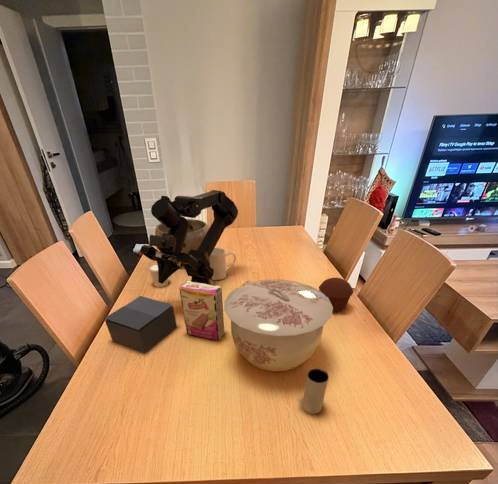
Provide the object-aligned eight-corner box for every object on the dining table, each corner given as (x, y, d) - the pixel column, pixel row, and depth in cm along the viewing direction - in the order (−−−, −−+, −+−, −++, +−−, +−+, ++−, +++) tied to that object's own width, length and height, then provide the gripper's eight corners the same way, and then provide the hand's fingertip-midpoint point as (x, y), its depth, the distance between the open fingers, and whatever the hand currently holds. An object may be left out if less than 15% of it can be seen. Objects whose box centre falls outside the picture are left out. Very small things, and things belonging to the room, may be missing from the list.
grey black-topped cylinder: (300, 400, 73) (305, 369, 66) (318, 398, 73) (325, 367, 67) (304, 414, 70) (310, 383, 63) (323, 413, 70) (331, 382, 63)
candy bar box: (186, 335, 94) (178, 287, 83) (193, 326, 97) (186, 279, 87) (219, 342, 91) (214, 293, 80) (225, 333, 94) (222, 285, 84)
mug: (207, 281, 122) (205, 255, 116) (207, 272, 128) (204, 248, 122) (237, 279, 124) (236, 254, 117) (235, 271, 130) (234, 246, 123)
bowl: (222, 255, 143) (220, 222, 133) (188, 274, 127) (183, 238, 118) (184, 246, 153) (180, 214, 143) (148, 262, 137) (141, 228, 127)
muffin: (309, 306, 107) (313, 280, 100) (326, 295, 113) (330, 270, 106) (339, 318, 101) (345, 291, 94) (355, 306, 107) (361, 280, 100)
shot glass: (165, 288, 118) (162, 271, 113) (149, 286, 119) (145, 270, 114) (172, 280, 123) (169, 264, 118) (156, 279, 124) (153, 263, 119)
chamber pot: (323, 394, 74) (339, 324, 61) (216, 381, 78) (209, 312, 65) (322, 330, 95) (334, 268, 82) (237, 322, 99) (236, 261, 86)
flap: (140, 296, 96) (140, 295, 96) (172, 305, 92) (172, 304, 92) (123, 307, 92) (123, 306, 91) (156, 318, 87) (156, 316, 87)
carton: (146, 317, 102) (140, 295, 96) (177, 327, 97) (172, 304, 92) (112, 341, 91) (103, 318, 86) (145, 353, 87) (138, 329, 82)
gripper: (136, 217, 89) (119, 266, 89) (187, 226, 83) (169, 279, 83) (158, 236, 100) (143, 280, 100) (205, 245, 93) (189, 292, 93)
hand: (160, 283), depth 93 cm, fingers closed
